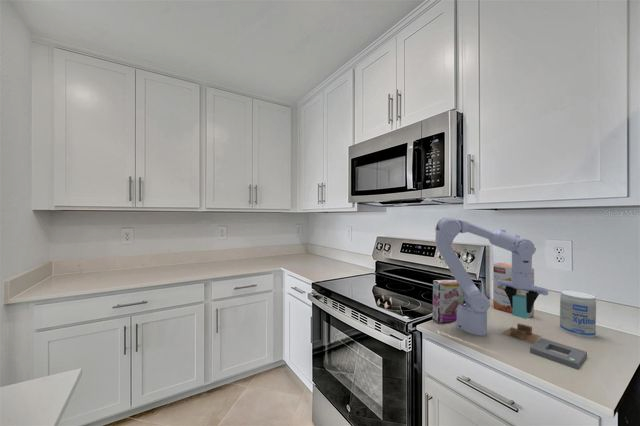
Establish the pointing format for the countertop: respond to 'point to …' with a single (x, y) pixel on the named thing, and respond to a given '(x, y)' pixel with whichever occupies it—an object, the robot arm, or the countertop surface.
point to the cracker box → (499, 295)
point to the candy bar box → (446, 300)
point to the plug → (520, 306)
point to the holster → (522, 333)
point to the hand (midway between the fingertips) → (521, 310)
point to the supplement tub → (578, 313)
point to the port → (572, 360)
